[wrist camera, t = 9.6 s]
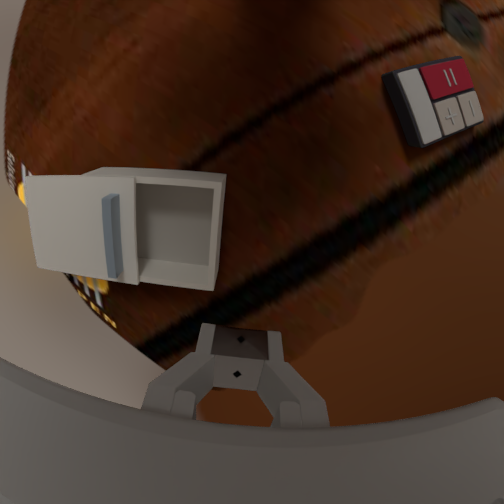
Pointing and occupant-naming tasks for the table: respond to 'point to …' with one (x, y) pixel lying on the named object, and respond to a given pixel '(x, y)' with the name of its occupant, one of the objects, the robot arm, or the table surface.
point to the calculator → (433, 100)
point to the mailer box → (176, 224)
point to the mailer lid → (84, 225)
